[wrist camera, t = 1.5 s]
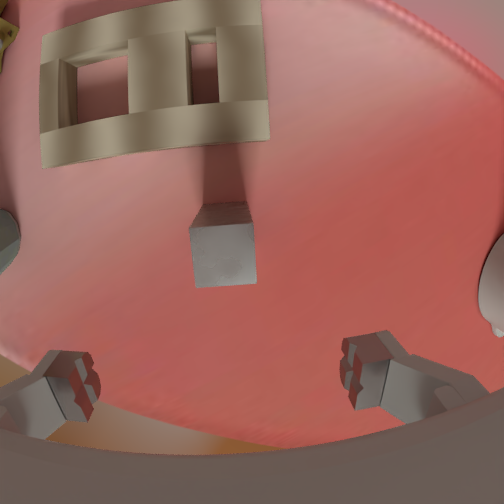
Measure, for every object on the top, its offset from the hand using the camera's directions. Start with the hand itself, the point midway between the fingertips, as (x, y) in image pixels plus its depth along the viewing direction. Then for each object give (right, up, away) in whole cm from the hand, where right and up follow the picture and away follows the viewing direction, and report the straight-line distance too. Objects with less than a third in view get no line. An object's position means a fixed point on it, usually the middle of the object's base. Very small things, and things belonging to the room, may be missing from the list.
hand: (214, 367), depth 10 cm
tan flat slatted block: (-8, +19, +16) cm, 26 cm away
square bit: (-1, +6, +21) cm, 22 cm away
